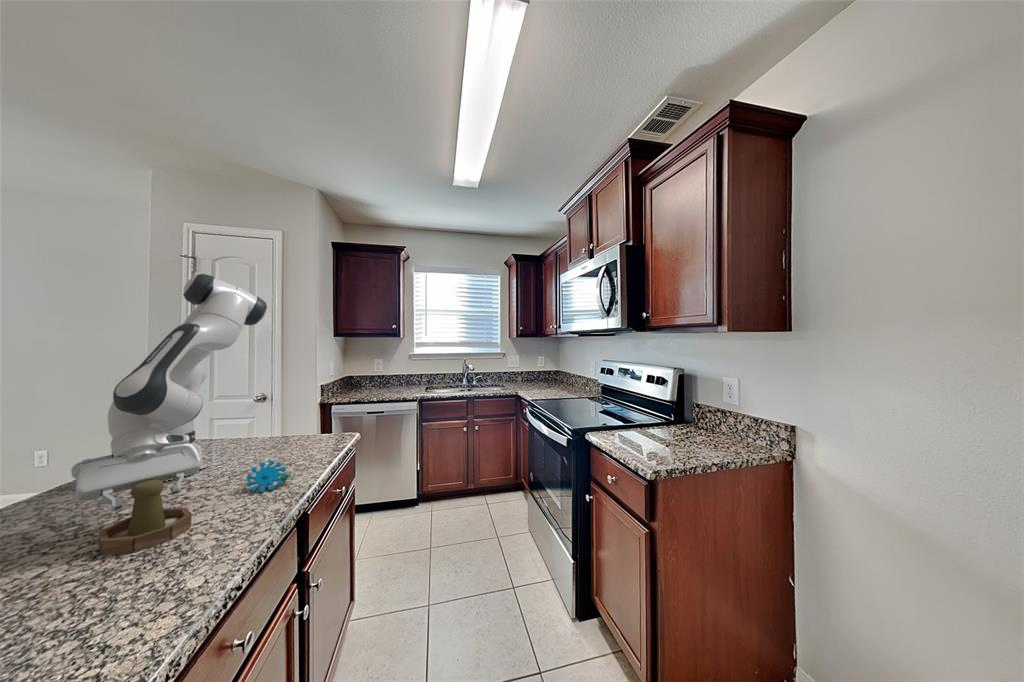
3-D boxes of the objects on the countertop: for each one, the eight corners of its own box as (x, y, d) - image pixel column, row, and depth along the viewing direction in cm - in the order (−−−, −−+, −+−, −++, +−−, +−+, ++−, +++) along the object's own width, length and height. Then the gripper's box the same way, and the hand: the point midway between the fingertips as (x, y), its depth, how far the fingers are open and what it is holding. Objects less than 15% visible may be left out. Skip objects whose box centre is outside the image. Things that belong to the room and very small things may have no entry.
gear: (240, 491, 98) (252, 459, 105) (243, 500, 102) (254, 468, 109) (285, 490, 103) (293, 459, 110) (286, 498, 106) (294, 468, 113)
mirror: (97, 539, 77) (97, 526, 77) (182, 514, 88) (182, 503, 88) (103, 562, 69) (103, 547, 69) (195, 531, 80) (195, 519, 80)
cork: (165, 519, 83) (166, 474, 83) (166, 529, 79) (166, 481, 79) (128, 529, 79) (128, 481, 79) (126, 540, 75) (127, 489, 75)
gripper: (71, 454, 74) (76, 511, 69) (196, 433, 91) (208, 478, 85) (69, 470, 77) (73, 527, 71) (191, 447, 94) (202, 491, 88)
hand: (148, 500), depth 78 cm, fingers open, 8 cm apart
